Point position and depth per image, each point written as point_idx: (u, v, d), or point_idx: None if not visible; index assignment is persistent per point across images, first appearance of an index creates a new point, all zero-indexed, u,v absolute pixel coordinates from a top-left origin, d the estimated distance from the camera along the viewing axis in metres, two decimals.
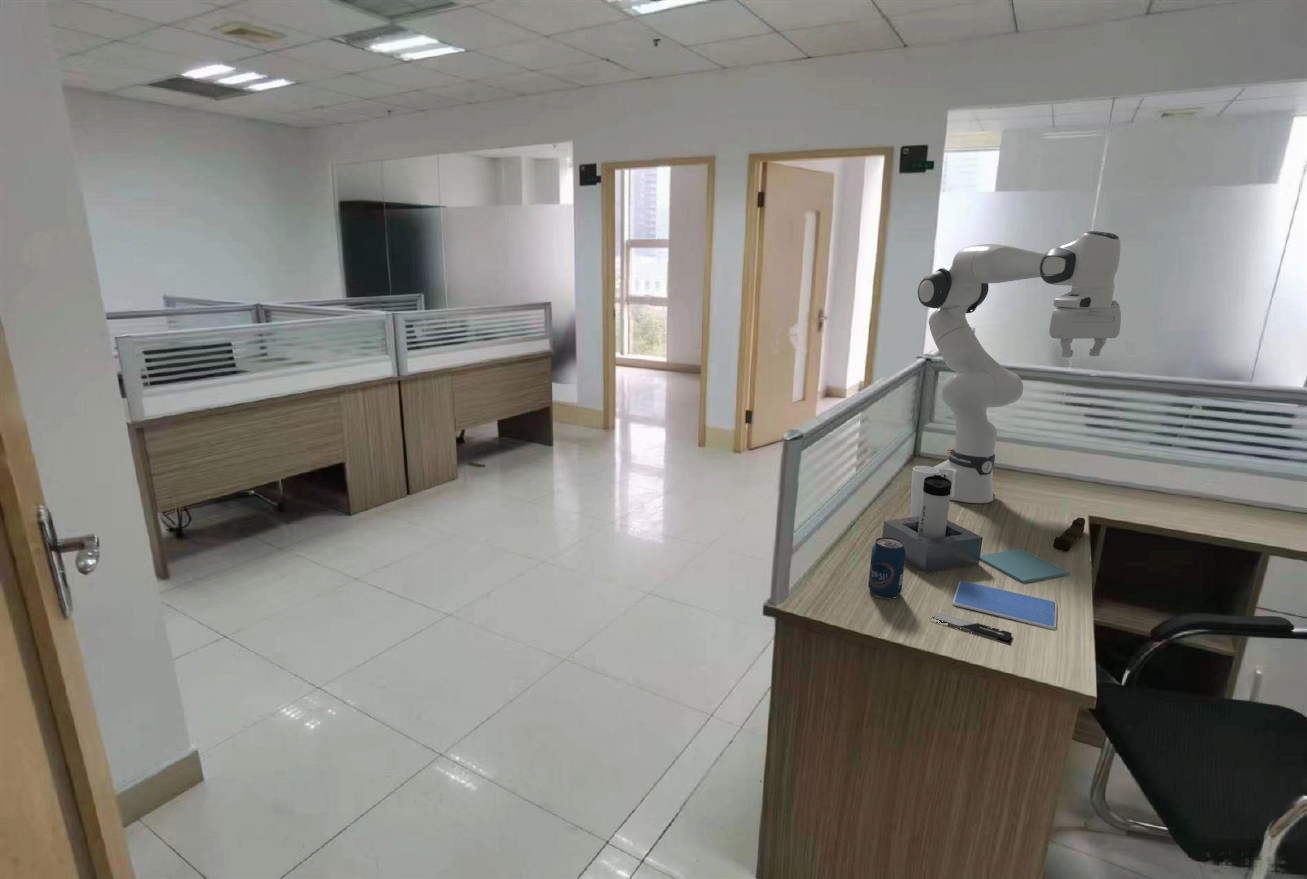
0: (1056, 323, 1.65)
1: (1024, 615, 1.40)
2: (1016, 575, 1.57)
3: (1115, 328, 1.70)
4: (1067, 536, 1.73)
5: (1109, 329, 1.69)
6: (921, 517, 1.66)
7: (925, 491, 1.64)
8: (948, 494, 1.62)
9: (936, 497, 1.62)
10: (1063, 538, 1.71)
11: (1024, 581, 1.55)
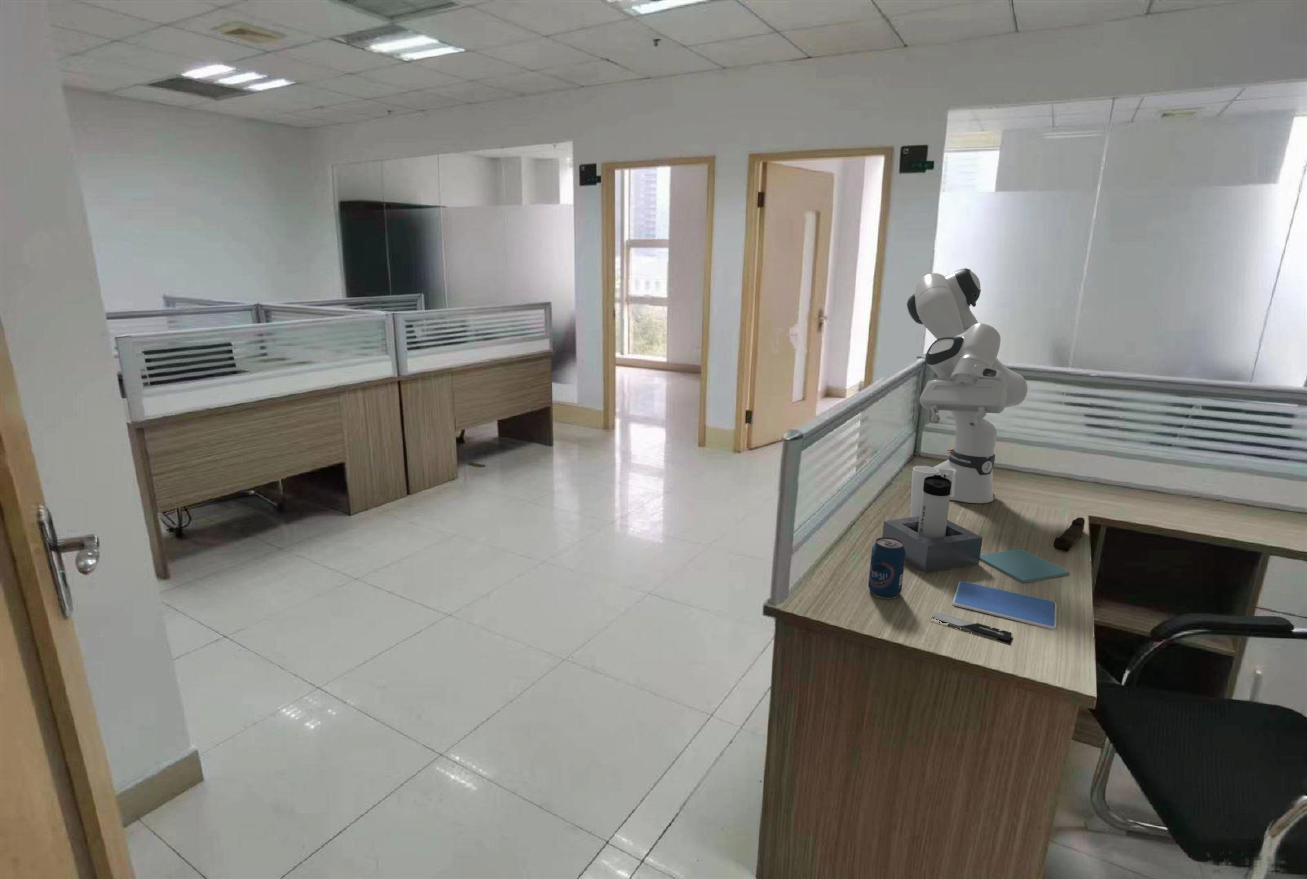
0: (1004, 397, 1.65)
1: (1024, 615, 1.40)
2: (1016, 575, 1.57)
3: None
4: (1067, 536, 1.73)
5: None
6: (921, 517, 1.66)
7: (925, 491, 1.64)
8: (948, 494, 1.62)
9: (936, 497, 1.62)
10: (1063, 538, 1.71)
11: (1024, 581, 1.55)
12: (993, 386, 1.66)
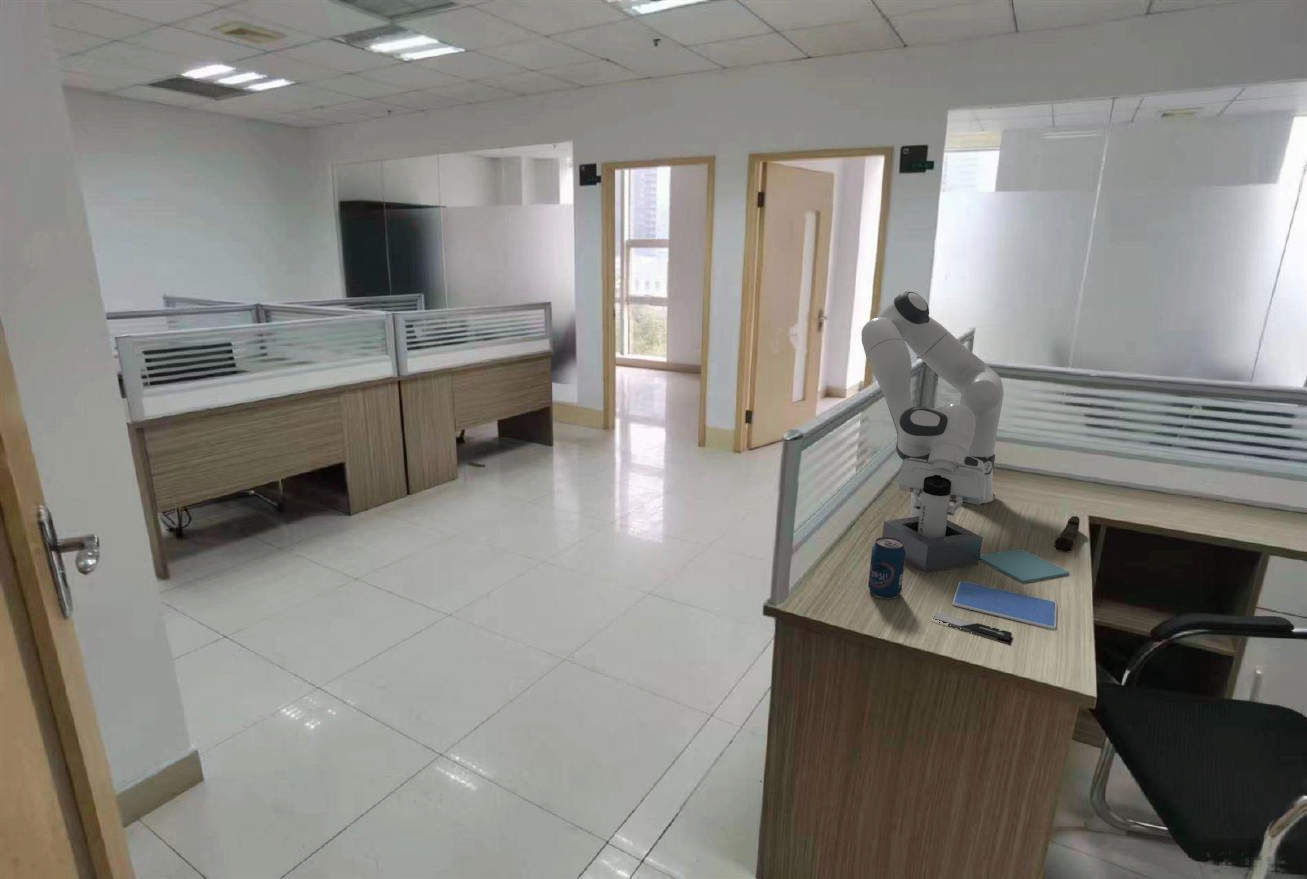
0: None
1: (1024, 615, 1.40)
2: (1016, 575, 1.57)
3: None
4: (1067, 536, 1.73)
5: None
6: (921, 517, 1.66)
7: (925, 491, 1.64)
8: (948, 494, 1.62)
9: (936, 497, 1.62)
10: (1065, 538, 1.71)
11: (1024, 581, 1.55)
12: (974, 476, 1.64)
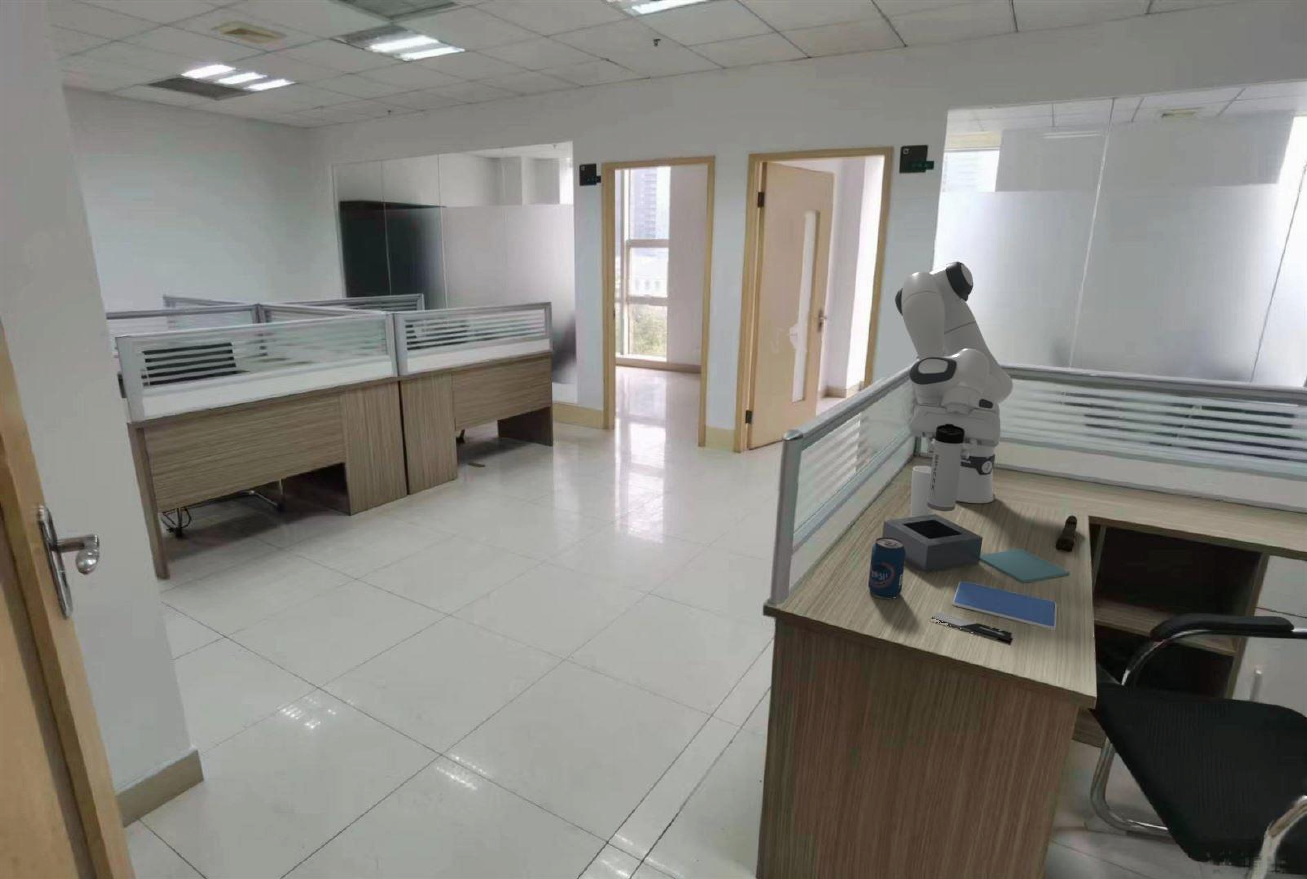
0: None
1: (1024, 615, 1.40)
2: (1016, 575, 1.57)
3: None
4: (1068, 537, 1.72)
5: None
6: (933, 467, 1.62)
7: (938, 439, 1.60)
8: (961, 442, 1.58)
9: (949, 445, 1.58)
10: (1066, 539, 1.71)
11: (1024, 581, 1.55)
12: (989, 419, 1.60)
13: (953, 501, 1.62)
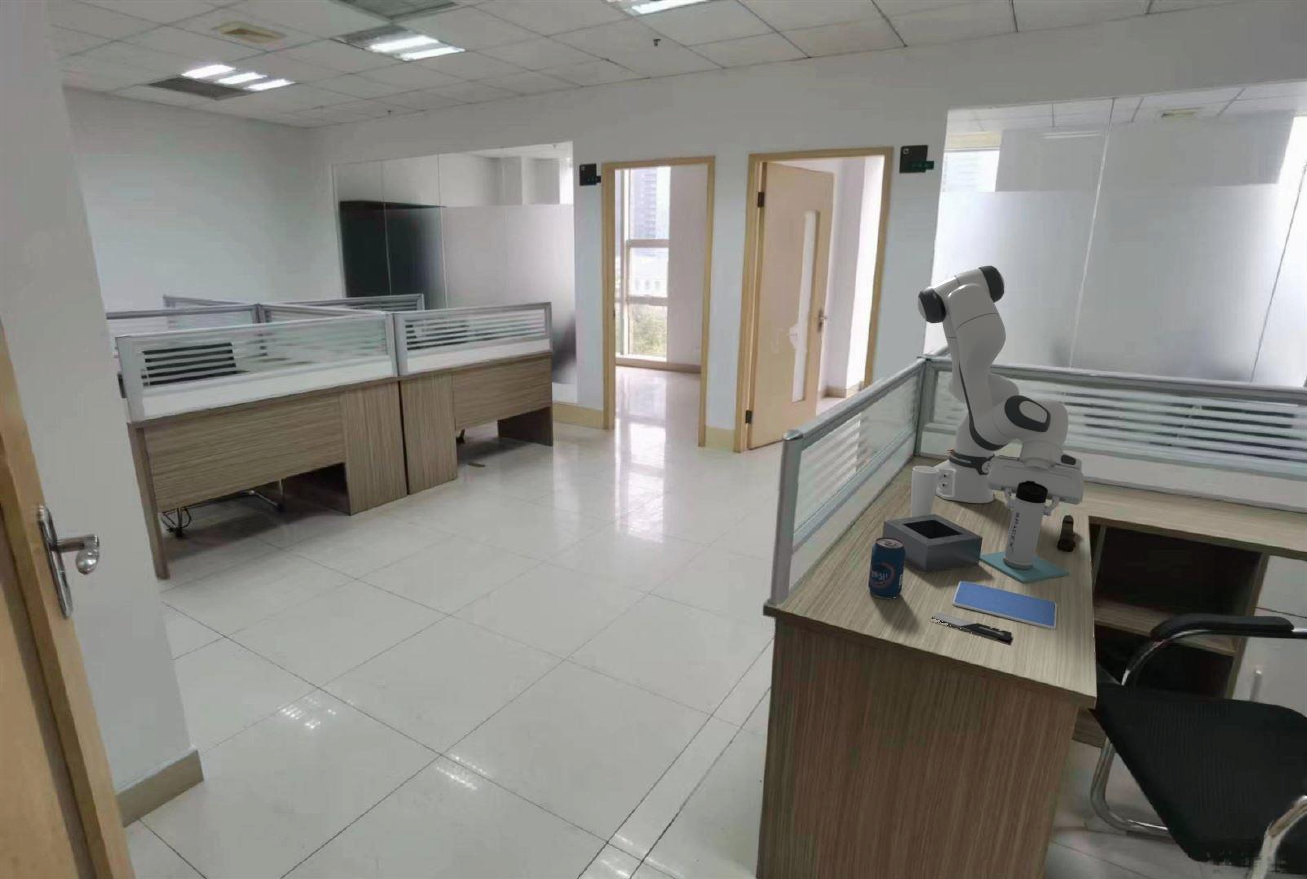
0: None
1: (1024, 615, 1.40)
2: (1016, 575, 1.57)
3: None
4: (1069, 537, 1.72)
5: None
6: (1013, 524, 1.60)
7: (1020, 497, 1.57)
8: (1044, 501, 1.56)
9: (1032, 504, 1.56)
10: (1067, 539, 1.71)
11: (1024, 581, 1.55)
12: (1072, 476, 1.58)
13: (1032, 559, 1.60)
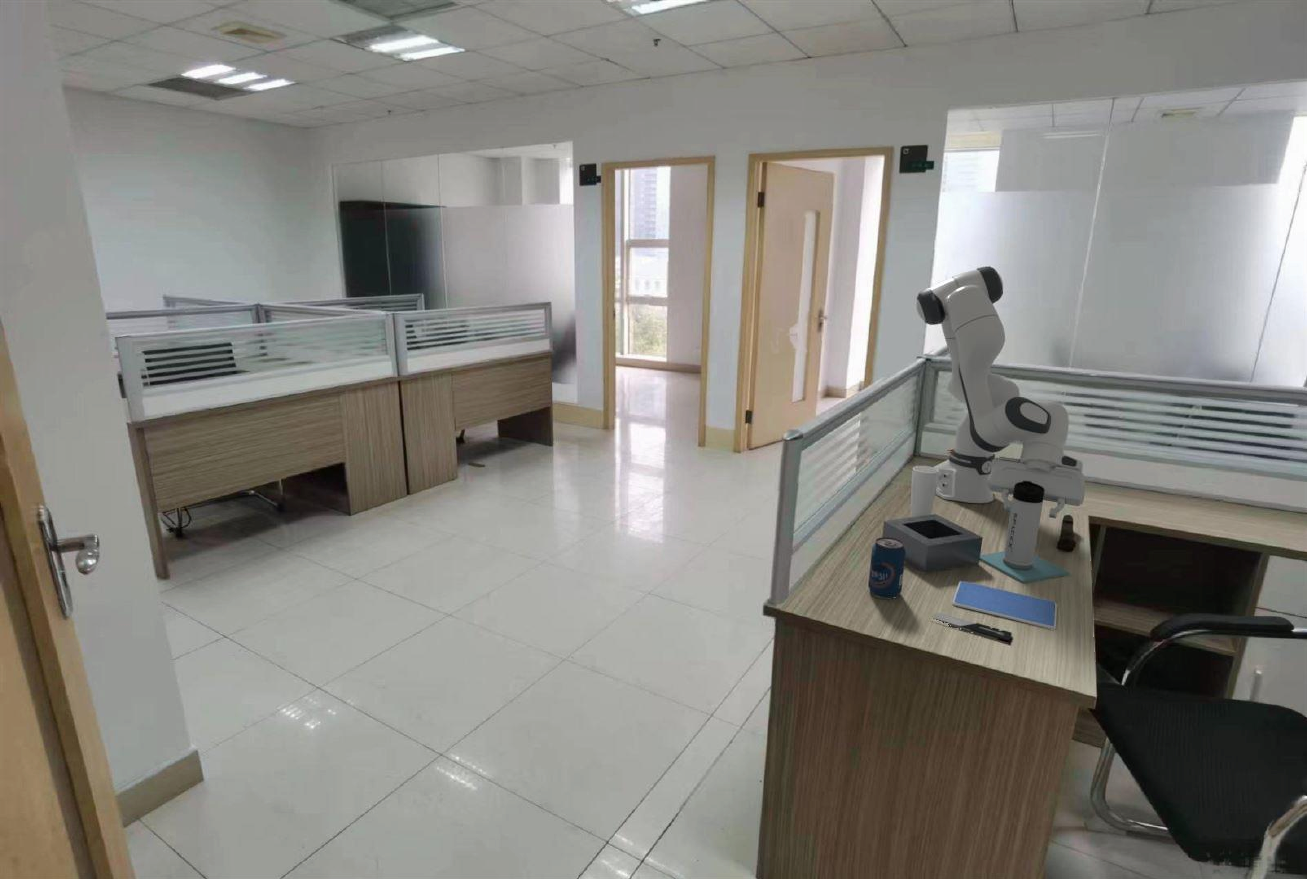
0: None
1: (1024, 615, 1.40)
2: (1016, 575, 1.57)
3: None
4: (1069, 537, 1.72)
5: None
6: (1011, 525, 1.60)
7: (1017, 498, 1.58)
8: (1041, 501, 1.56)
9: (1029, 504, 1.56)
10: (1068, 539, 1.71)
11: (1024, 581, 1.55)
12: (1073, 477, 1.58)
13: (1031, 559, 1.60)
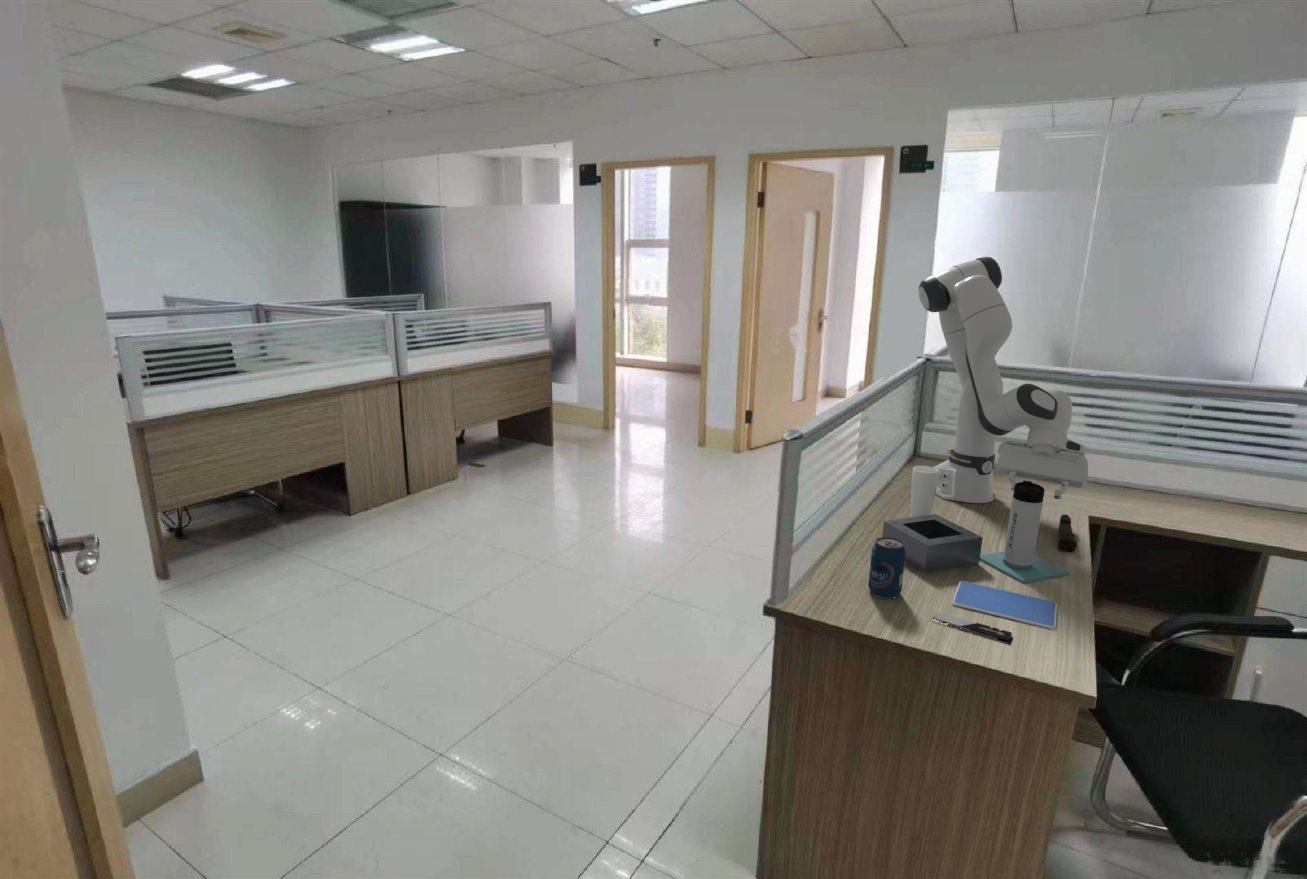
0: None
1: (1024, 615, 1.40)
2: (1016, 575, 1.57)
3: None
4: (1069, 537, 1.72)
5: None
6: (1011, 525, 1.60)
7: (1017, 498, 1.58)
8: (1041, 501, 1.56)
9: (1029, 504, 1.56)
10: (1068, 539, 1.71)
11: (1024, 581, 1.55)
12: (1077, 461, 1.67)
13: (1031, 559, 1.60)
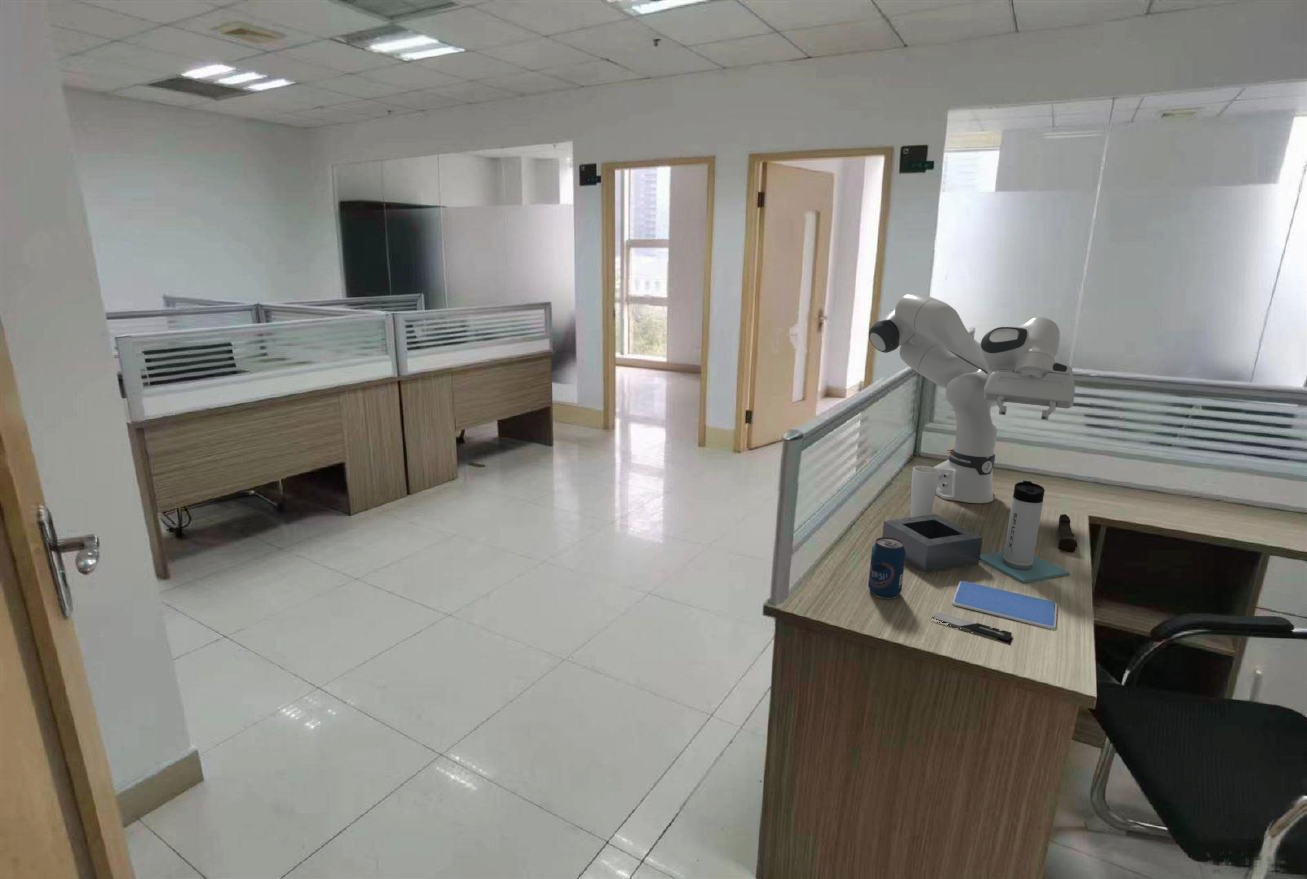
0: None
1: (1024, 615, 1.40)
2: (1016, 575, 1.57)
3: None
4: (1069, 537, 1.72)
5: None
6: (1011, 525, 1.60)
7: (1017, 498, 1.58)
8: (1041, 501, 1.56)
9: (1029, 504, 1.56)
10: (1069, 539, 1.70)
11: (1024, 581, 1.55)
12: (1063, 382, 1.68)
13: (1031, 559, 1.60)
